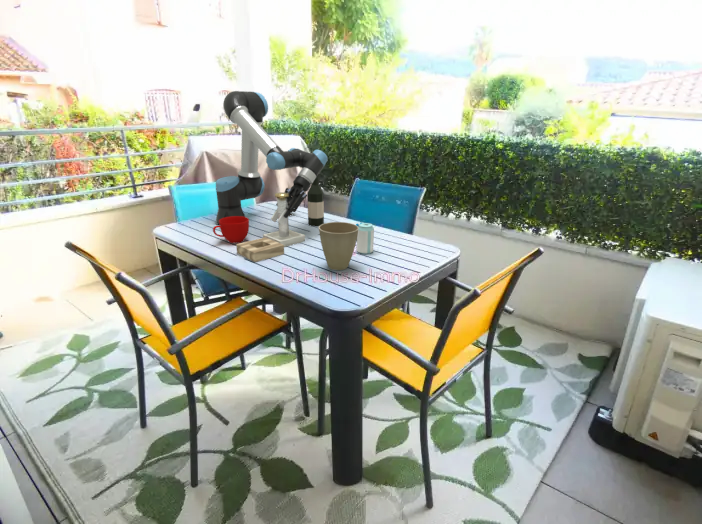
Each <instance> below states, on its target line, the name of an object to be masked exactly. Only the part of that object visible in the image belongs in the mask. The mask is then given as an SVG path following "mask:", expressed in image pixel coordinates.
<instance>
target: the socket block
mask: <svg viewBox="0 0 702 524" xmlns="http://www.w3.org/2000/svg"><path fill="white" fill-rule="evenodd" d="M235 244H236V254H238V255H240V256H241V257H244V258H246V259H247V260H249V261H252V262H254V263H257V262H261V261H264V260H265V261H266V260H268V259H271V258H275V257H278V255H279V256H282V255H285V247H284V245H283V244H280V243H278V242H275V241H273V240H270V239H268V238H265V237H264V238H263V237H261V238H257V239H252V240H248V241H243V242H240V243H235Z"/></svg>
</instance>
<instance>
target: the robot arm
mask: <svg viewBox="0 0 702 524" xmlns="http://www.w3.org/2000/svg"><path fill="white" fill-rule="evenodd" d="M222 104H223V110H224V113H225V115H226V118H228V119H229V120H230V121H231V123H233V124H236V125H237V126H238V127H239V129H240V130H241V157H240V158H241V159H240V160H241V161H240V163H241V164H240V170H239V171H238V172H237V174H238V175H237V176H236V175H229V176H224V177H221V178H218V179H216V181H215V191H216V199H217V208H218V209H217V213H216V217H215V222H216V224H217V225H218V224H219V220H220V219H222V218H225V217H232V216H242V217H246V215H245V212H244V210H243V207H242V201H245V200H251V199H256V198H259V197H260V196H262V195H263V193H264V191H265V181H264V179H263V177H261V174H260V172H259V171H258V169H259V151H260V152H261V153H262V154H263V156H264V157H265V162H266V164H267V167H268V168H269V169H270V170H273V171H281V170H285V169H291V168H296V167H299V168H301V169H300V171H299V172H298V174H297V176H296V177H295V179H294V180H293V182H292V183H293V185H292V186H291V187H290V188H289V187H286V188H285V190H284V192H283V193H289V197H287V203H289V202H290V201H291V202H290V204H289V206H288V208H286V209H287V210H286V209H285V210H284V212H283V213H282V215H281V216H280V218H279V219H278V208H276V210H275V211H274V213H273V215H272V216H270V220H271V221H273V222H274V223H278V222H279V223H280V224H281V225H282V224H283V223H284V221H285V220H286V218H287V217H288V218H289V217H290V216H289V214H290V213H292V214H293V213H296V211H297V210H298V209H299V208H300V206H301V204H302V203H303V201H304V200H305V199H306V198H308V197H307V194H306V192H308V191H309V189H310V187H311V186H312V183H313V181H314V180H315V178H316V177H317V175H318V176H319V174H320V173H321V171H323V169H324V167H325V165H326V163H327V162H328V156H327V154H326V153H325V152H324V151H323V150H320V149H314V151H312V153H311V152H307V151H305V150H301V149H299V148H295V147H291V148H290V149H289V150H285V151H284V150H283V149H282V148H281V147H280V146H279V145H278V144H277V143H276V141H274V140H273V138H272V137H271V136H270V135H269V134H268V133H267V132H266V130H264V128H263V127H262V126H261V124H263V123H264V122H263V119H264V118H265V117H266V116H267V115H268V112H269V105H268V100H267V98H265V96H264V95H263V94H262V93H260V92H257V91H246V90H245V91H240V90H235V91H234V90H233V91H230V92H229V93H227V94H226V96H225V97H224V99H223V103H222ZM290 195H291V196H290ZM276 206H277V203H276Z"/></svg>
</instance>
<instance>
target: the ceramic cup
mask: <svg viewBox="0 0 702 524" xmlns="http://www.w3.org/2000/svg"><path fill="white" fill-rule="evenodd" d="M217 228H219V230H220V232H221V234H218V233H217V232H216V229H217ZM249 230H250V219H249V218H248V217H246V216H245V217H242V216H232V217H225V218H222V219H220V220H219V225H215V226H213V228H212V232H213V234H214V235H215V236H217V237H220V238H224V239H225V240H226V241H227V242H228V243H230V244H239V243H244V242H245V239H246V237H247V236H248V233H249V232H250V231H249Z"/></svg>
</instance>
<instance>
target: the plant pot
mask: <svg viewBox="0 0 702 524" xmlns="http://www.w3.org/2000/svg"><path fill="white" fill-rule="evenodd" d="M358 229H359V227H358V226H357V225H356V224H354V223H351V222H344V221H331V222H326V223H325V222H324V224H322V225H320V226H318V233H319V239H320V243H321V248H322V251H323V254H324V255H323V256H324V258H325V261H326V264H327V266H328V268H329V269H330V270H334V271H343V270H347V269H348V267H349V265H350V262H351V260H352V257H353V254H354V251H355V248H356V245H357V235H358Z"/></svg>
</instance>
